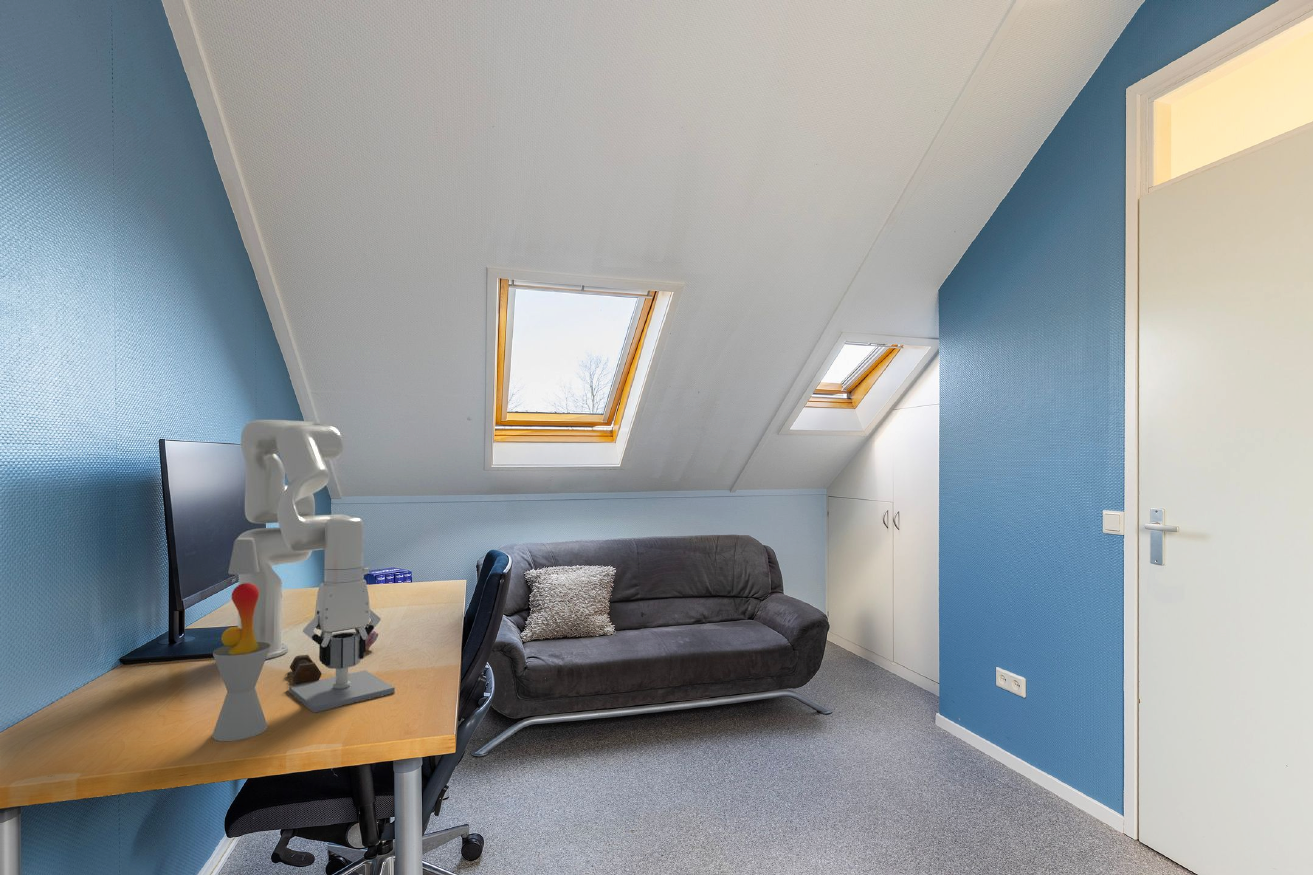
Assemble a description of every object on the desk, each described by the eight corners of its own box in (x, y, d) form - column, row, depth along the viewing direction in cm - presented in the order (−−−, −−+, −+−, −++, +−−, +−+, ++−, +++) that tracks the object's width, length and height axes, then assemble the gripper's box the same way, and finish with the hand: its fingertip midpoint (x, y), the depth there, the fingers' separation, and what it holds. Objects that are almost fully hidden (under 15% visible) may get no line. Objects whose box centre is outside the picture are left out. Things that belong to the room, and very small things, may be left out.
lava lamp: (272, 718, 129) (275, 534, 130) (264, 736, 121) (268, 540, 122) (216, 725, 126) (221, 536, 127) (205, 744, 117) (209, 542, 118)
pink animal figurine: (350, 665, 167) (363, 640, 167) (335, 656, 167) (348, 631, 167) (372, 654, 177) (384, 630, 176) (358, 645, 177) (369, 622, 177)
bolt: (303, 677, 159) (310, 693, 147) (282, 669, 157) (288, 685, 145) (317, 653, 161) (325, 667, 149) (296, 645, 159) (303, 659, 147)
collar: (322, 663, 143) (322, 635, 144) (352, 658, 148) (352, 630, 148) (332, 670, 139) (333, 640, 139) (363, 664, 143) (363, 635, 144)
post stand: (288, 692, 144) (289, 649, 144) (365, 675, 155) (366, 635, 155) (313, 712, 132) (314, 666, 132) (394, 693, 143) (395, 650, 144)
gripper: (377, 569, 153) (376, 649, 152) (294, 578, 141) (292, 665, 140) (391, 573, 147) (390, 656, 147) (305, 583, 135) (304, 673, 135)
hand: (342, 660), depth 144 cm, fingers closed on collar, 6 cm apart
